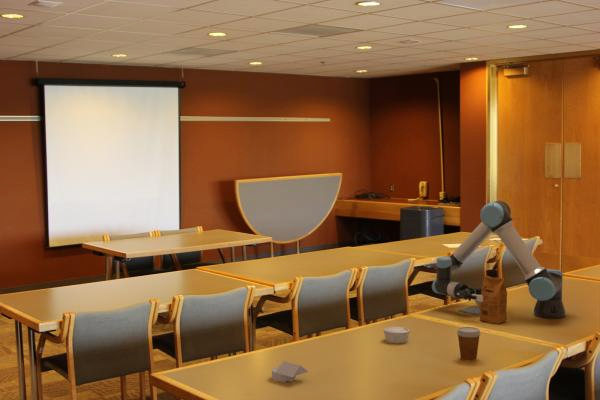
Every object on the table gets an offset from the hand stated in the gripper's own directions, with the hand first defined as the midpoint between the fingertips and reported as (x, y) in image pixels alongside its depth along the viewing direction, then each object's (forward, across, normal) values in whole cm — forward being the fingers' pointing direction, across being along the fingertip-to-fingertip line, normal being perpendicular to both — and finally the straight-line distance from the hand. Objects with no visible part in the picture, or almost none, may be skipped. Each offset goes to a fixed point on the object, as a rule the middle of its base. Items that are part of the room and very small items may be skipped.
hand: (491, 296), depth 375 cm
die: (-23, -22, -12) cm, 34 cm away
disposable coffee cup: (+35, +57, -12) cm, 68 cm away
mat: (-16, -10, -12) cm, 23 cm away
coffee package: (0, 0, -12) cm, 12 cm away
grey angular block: (+10, +130, -12) cm, 131 cm away
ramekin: (-3, +61, -12) cm, 62 cm away
